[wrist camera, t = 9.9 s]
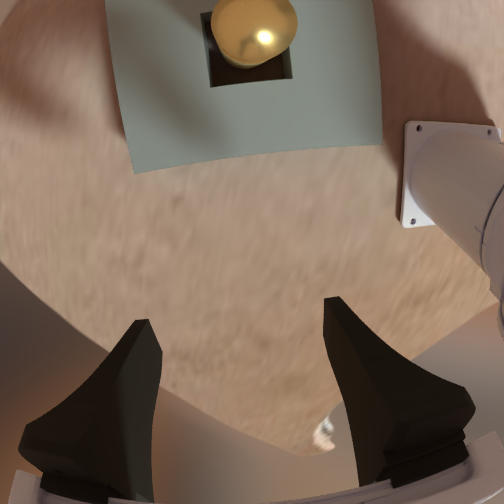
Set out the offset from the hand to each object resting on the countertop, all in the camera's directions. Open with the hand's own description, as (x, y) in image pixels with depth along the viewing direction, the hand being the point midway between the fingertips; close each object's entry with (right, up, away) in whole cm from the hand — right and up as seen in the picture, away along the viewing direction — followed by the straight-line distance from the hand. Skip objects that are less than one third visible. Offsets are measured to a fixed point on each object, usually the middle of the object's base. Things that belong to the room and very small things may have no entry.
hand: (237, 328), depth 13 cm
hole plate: (0, +15, +3) cm, 15 cm away
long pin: (0, +15, +3) cm, 15 cm away
